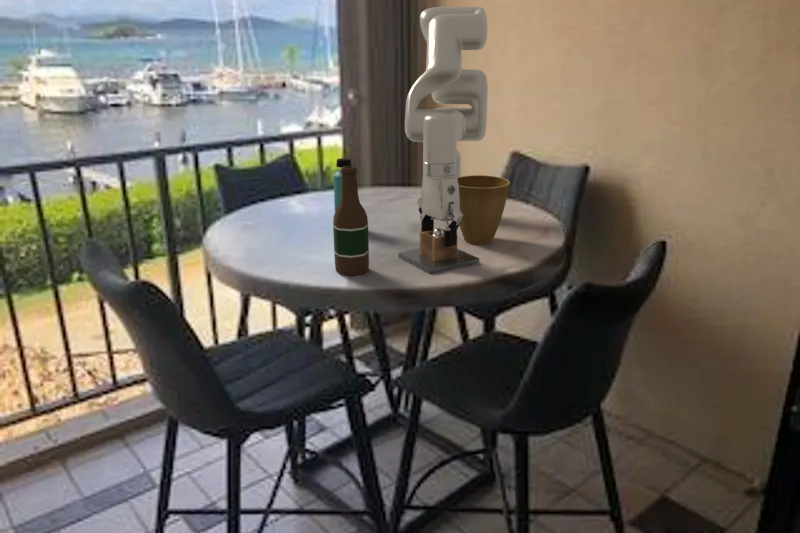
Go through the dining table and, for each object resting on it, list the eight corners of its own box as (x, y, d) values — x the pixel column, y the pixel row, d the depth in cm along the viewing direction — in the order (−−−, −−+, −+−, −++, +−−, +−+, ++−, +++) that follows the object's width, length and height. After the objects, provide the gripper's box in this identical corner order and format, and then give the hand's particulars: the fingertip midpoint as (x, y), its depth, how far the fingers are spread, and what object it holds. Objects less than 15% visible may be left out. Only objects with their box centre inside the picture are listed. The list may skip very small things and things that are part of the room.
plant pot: (440, 236, 169) (441, 178, 164) (488, 230, 175) (490, 173, 170) (467, 252, 156) (469, 189, 151) (517, 244, 162) (521, 183, 157)
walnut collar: (441, 249, 154) (442, 228, 153) (456, 256, 149) (457, 234, 147) (419, 254, 151) (419, 232, 149) (434, 261, 146) (434, 238, 144)
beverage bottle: (354, 233, 173) (352, 160, 166) (331, 232, 174) (328, 160, 168) (361, 227, 179) (359, 156, 172) (338, 225, 180) (335, 156, 174)
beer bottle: (335, 265, 147) (331, 163, 139) (368, 264, 148) (366, 163, 140) (334, 277, 140) (330, 170, 132) (369, 276, 141) (367, 169, 133)
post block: (445, 248, 160) (446, 217, 157) (479, 263, 148) (480, 230, 146) (398, 257, 153) (398, 225, 150) (429, 273, 142) (429, 240, 139)
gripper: (475, 173, 138) (473, 247, 144) (432, 162, 152) (431, 229, 158) (447, 177, 135) (445, 253, 140) (406, 165, 149) (406, 234, 154)
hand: (438, 240), depth 149 cm, fingers open, 9 cm apart
